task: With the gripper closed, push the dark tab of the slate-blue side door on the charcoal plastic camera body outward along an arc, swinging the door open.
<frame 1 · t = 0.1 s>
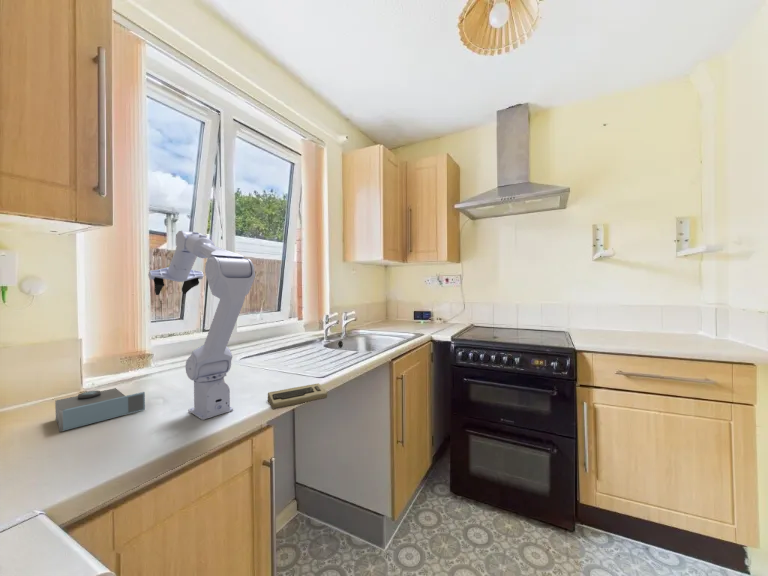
hand: (170, 292, 103), 32 cm above the counter, tool tilted 50°, fingers open, 7 cm apart
side door: (105, 410, 80), point 3 cm above the counter, hinge at 0.0°
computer: (297, 401, 95), on the counter
camera body: (91, 417, 82), on the counter
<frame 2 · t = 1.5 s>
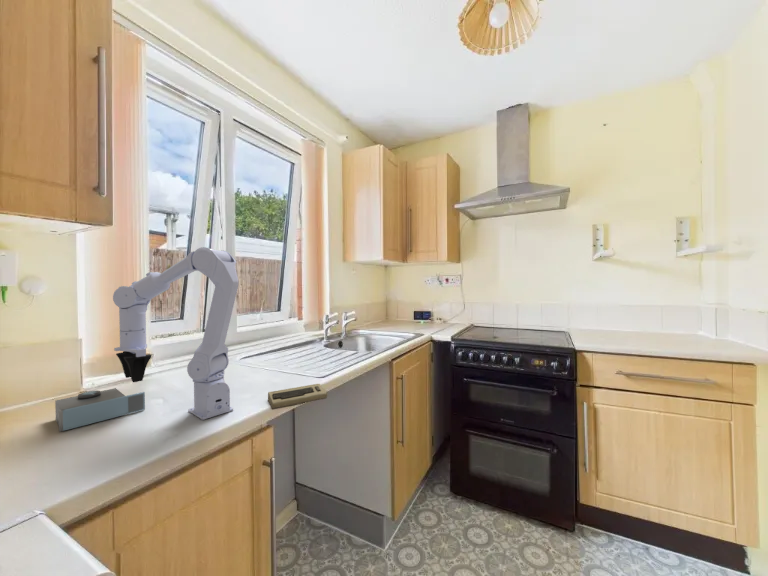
hand: (134, 379, 87), 8 cm above the counter, tool pointing down, fingers open, 6 cm apart
nothing on the counter moved.
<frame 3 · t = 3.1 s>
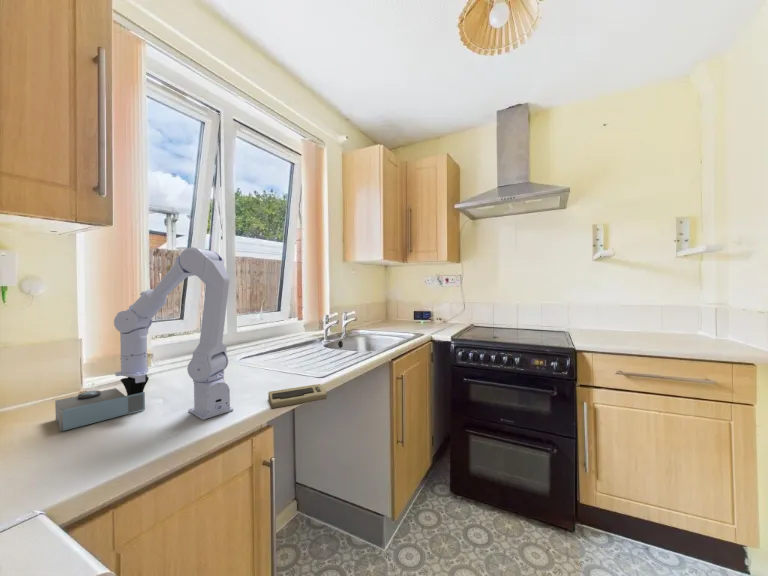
hand: (135, 403, 87), 2 cm above the counter, tool pointing down, fingers closed
side door: (105, 410, 80), point 3 cm above the counter, hinge at 0.0°, touching gripper
everything else where it was.
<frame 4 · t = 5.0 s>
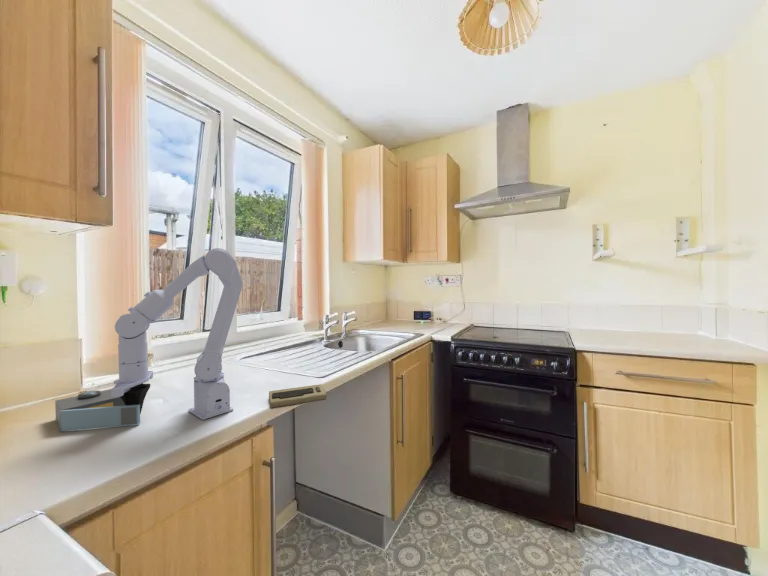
hand: (134, 415, 79), 2 cm above the counter, tool pointing down, fingers closed
side door: (100, 417, 76), point 3 cm above the counter, hinge at 39.4°, touching gripper
everything else where it was.
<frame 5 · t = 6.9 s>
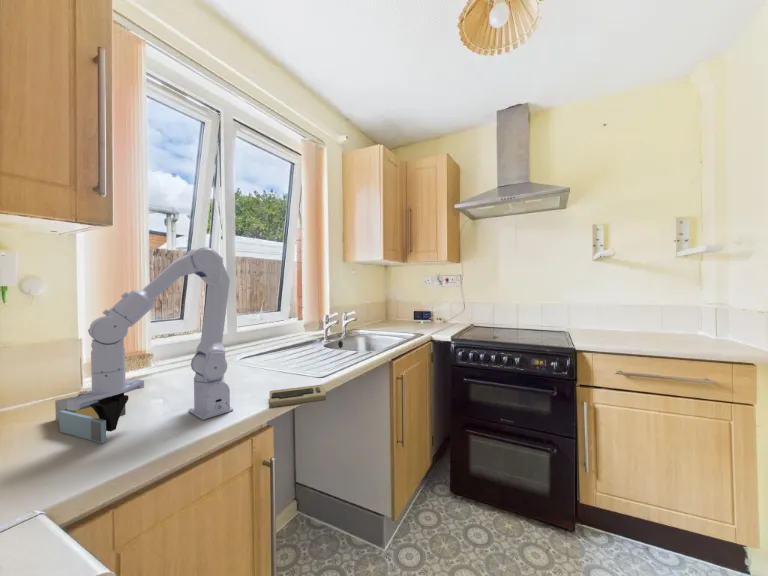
hand: (110, 430, 71), 2 cm above the counter, tool pointing down, fingers closed
side door: (81, 425, 71), point 3 cm above the counter, hinge at 72.1°, touching gripper
everything else where it was.
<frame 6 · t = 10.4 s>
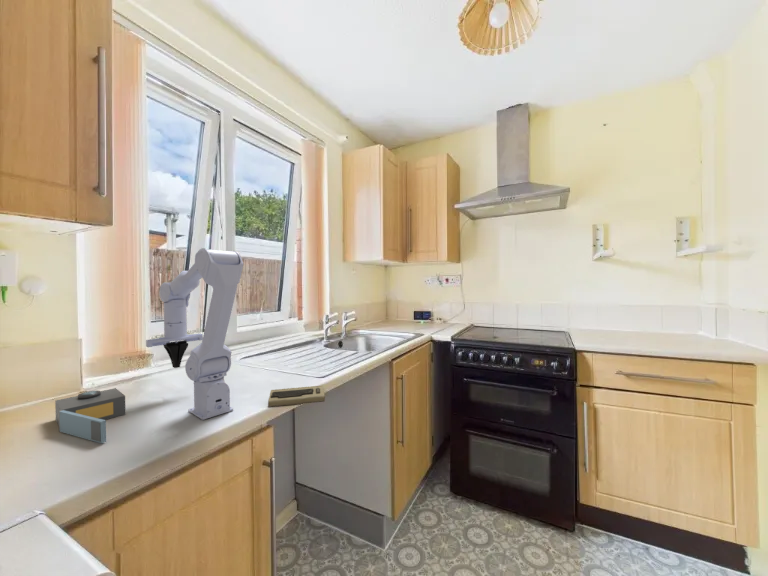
hand: (176, 367, 96), 9 cm above the counter, tool pointing down, fingers closed
side door: (81, 425, 71), point 3 cm above the counter, hinge at 72.1°
at the end: side door at +72° (first picture: +0°); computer moved 0.8 cm from its start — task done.
